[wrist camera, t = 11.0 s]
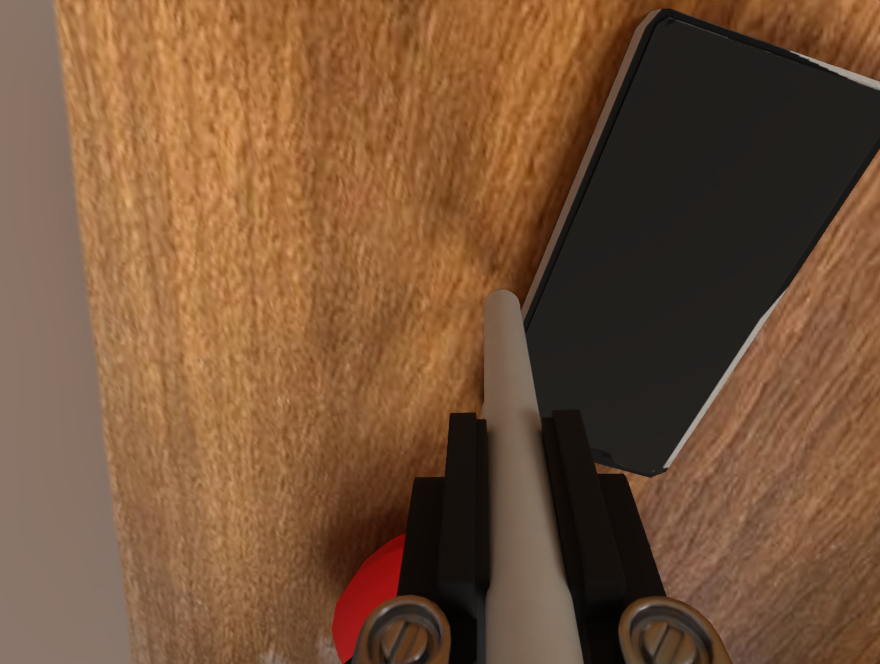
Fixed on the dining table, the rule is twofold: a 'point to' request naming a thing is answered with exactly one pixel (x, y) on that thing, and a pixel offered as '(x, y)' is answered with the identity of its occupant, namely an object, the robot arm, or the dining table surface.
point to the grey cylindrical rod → (521, 508)
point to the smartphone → (687, 228)
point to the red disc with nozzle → (366, 594)
